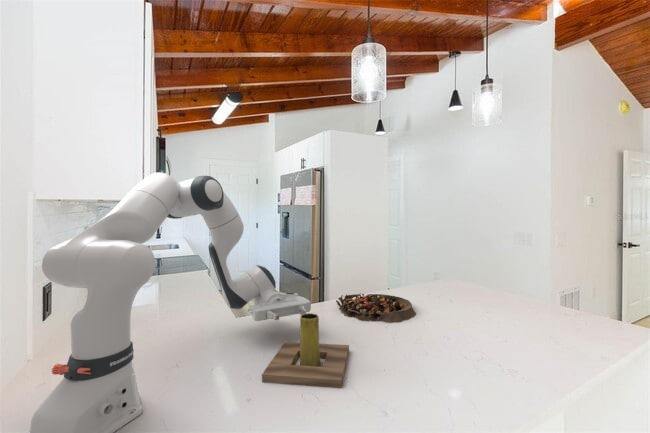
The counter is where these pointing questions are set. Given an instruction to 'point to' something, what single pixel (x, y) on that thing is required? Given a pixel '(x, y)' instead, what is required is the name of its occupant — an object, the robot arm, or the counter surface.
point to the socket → (323, 376)
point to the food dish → (376, 308)
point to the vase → (309, 340)
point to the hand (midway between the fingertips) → (290, 315)
